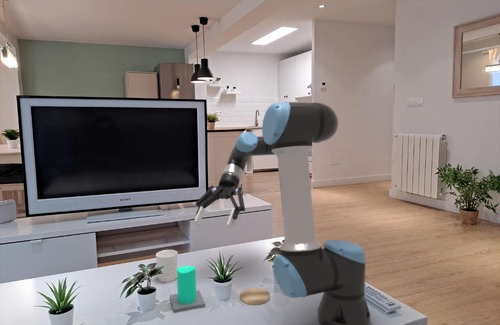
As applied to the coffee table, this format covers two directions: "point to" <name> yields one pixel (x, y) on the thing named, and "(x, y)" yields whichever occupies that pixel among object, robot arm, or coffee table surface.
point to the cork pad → (254, 296)
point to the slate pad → (182, 307)
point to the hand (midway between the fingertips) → (212, 224)
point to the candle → (186, 284)
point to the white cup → (167, 265)
